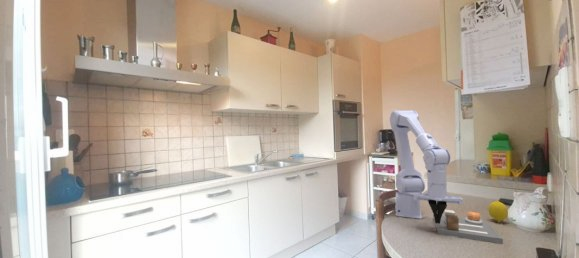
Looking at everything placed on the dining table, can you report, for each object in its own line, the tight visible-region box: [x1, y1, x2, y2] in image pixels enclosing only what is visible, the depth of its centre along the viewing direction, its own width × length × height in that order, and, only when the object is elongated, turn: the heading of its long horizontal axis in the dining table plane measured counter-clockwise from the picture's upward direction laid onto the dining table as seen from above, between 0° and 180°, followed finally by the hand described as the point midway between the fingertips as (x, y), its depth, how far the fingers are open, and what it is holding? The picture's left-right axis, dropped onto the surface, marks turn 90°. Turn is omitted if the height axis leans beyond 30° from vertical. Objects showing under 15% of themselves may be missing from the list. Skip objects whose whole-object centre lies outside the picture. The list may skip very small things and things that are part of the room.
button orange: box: [466, 210, 481, 220], centre depth 88 cm, size 4×4×2 cm
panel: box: [432, 214, 504, 244], centre depth 85 cm, size 17×16×2 cm
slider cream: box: [443, 209, 456, 223], centre depth 87 cm, size 3×3×4 cm
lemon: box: [488, 200, 509, 223], centre depth 92 cm, size 6×6×8 cm
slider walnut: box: [446, 214, 460, 230], centre depth 82 cm, size 3×3×4 cm
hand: (437, 222), depth 84 cm, fingers closed
